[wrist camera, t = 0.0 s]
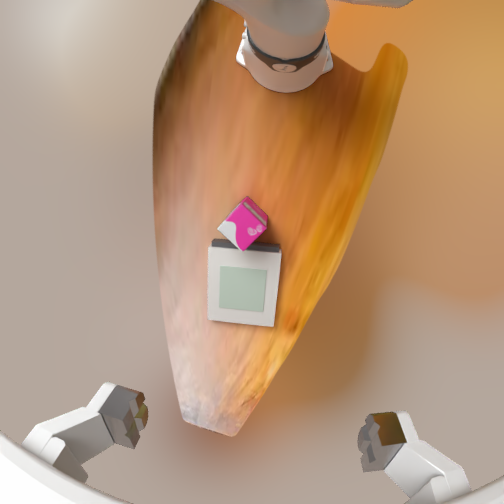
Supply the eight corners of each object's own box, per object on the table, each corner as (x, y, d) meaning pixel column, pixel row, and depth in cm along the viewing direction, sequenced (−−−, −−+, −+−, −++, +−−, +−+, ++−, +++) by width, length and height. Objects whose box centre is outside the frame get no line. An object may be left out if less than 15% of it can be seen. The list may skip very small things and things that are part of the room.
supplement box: (248, 237, 56) (241, 254, 45) (227, 216, 56) (214, 228, 45) (269, 216, 55) (267, 228, 44) (247, 195, 54) (239, 201, 43)
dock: (211, 238, 57) (208, 242, 54) (281, 244, 56) (282, 249, 53) (210, 312, 62) (207, 320, 59) (273, 319, 61) (273, 327, 58)
